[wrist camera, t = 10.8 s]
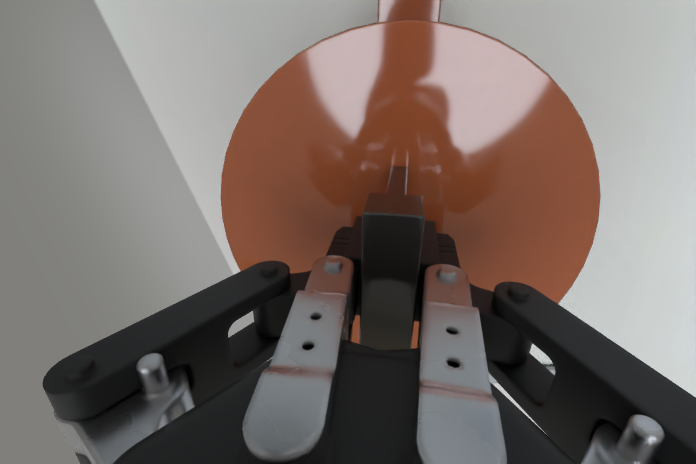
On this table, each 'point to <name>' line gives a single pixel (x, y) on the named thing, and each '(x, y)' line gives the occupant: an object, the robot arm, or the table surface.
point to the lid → (413, 166)
